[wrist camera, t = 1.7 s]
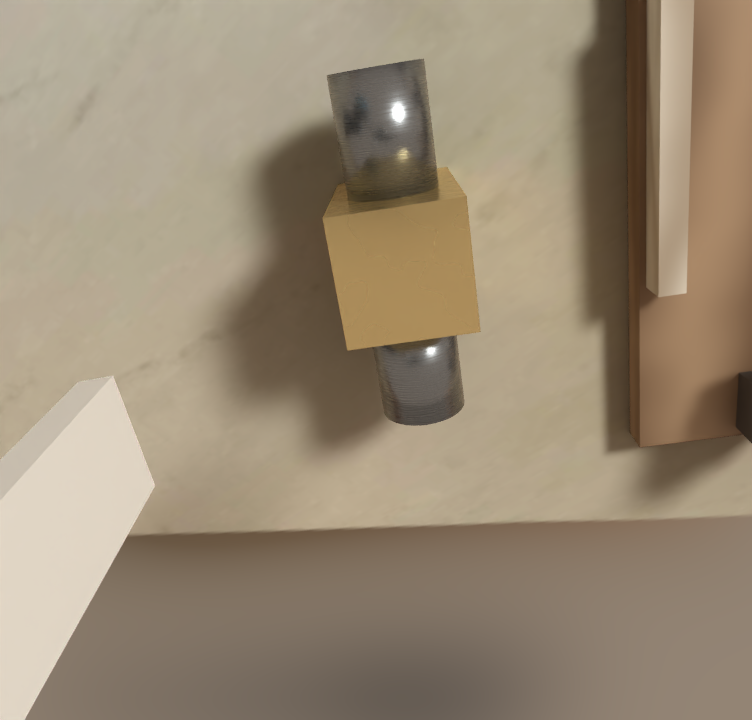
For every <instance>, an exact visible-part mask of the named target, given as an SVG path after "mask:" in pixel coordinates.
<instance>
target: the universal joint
mask: <svg viewBox="0 0 752 720" xmlns="http://www.w3.org/2000/svg"><path fill="white" fill-rule="evenodd" d="M327 80H328V86H329V92H330V98H331V104H332V110H333V115H334V121H335V127H336V133H337V139H338V145H339V150H340V156H341V162H342V168H343V174H344V180H345V183H343V184H338V186H337V188H336V190H335V192H334V194H333V197H332V199H331V201H330V203H329V205H328V207H327V210H326V212H325V214H324V216H323V218H322V219H323V224H324V229H325V235H326V240H327V245H328V251H329V256H330V261H331V267H332V272H333V277H334V282H335V288H336V293H337V298H338V304H339V309H340V314H341V320H342V325H343V330H344V336H345V341H346V346H347V351H348V350H355V349H362V348H370V347H373V349H374V355H375V361H376V367H377V372H378V378H379V384H380V390H381V396H382V402H383V407H384V413H385V415H386V417H387V418H388V419H390V420H391V421H393V422H396V423H399V424H404V425H428V424H433V423H437V422H441V421H444V420H446V419H448V418H451V417H452V416H454V415H456V414H457V413H458V412H459V411H460V410H461V409H462V408H463V406H464V395H463V387H462V378H461V370H460V361H459V353H458V344H457V336H456V335H462V334H469V333H476V332H480V323H479V313H478V303H477V293H476V284H475V274H474V264H473V254H472V245H471V235H470V225H469V215H468V206H467V196H466V195H465V193H464V192H463V190H462V189H461V187H460V186H459V184H458V183H457V181H456V180H455V178H454V177H453V175H452V174H451V172H450V171H449V169H448V168H447V167H444V168H437V166H436V157H435V149H434V140H433V132H432V123H431V115H430V106H429V98H428V89H427V81H426V72H425V64H424V59H419V60H412V61H405V62H399V63H393V64H387V65H381V66H375V67H369V68H364V69H358V70H353V71H347V72H342V73H336V74H331V75H327Z"/></svg>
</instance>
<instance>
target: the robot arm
mask: <svg viewBox="0 0 752 720" xmlns="http://www.w3.org/2000/svg"><path fill="white" fill-rule="evenodd" d="M154 487H155V484H154V482H153V479H152V476H151V474H150V471H149V469H148V466H147V463H146V461H145V458H144V455H143V453H142V450H141V448H140V445H139V442H138V440H137V437H136V434H135V432H134V429H133V427H132V424H131V421H130V419H129V416H128V414H127V411H126V408H125V406H124V403H123V400H122V398H121V395H120V393H119V390H118V387H117V385H116V382H115V380H114V377H113V376H108V377H102V378H96V379H91V380H85V381H79V382H77V383H76V384H75V385H74V386H73V387H72V388H71V389H70V390H69V391H68V392H67V393H66V394H65V395H64V396H63V397H62V398H61V399H60V400H59V401H58V402H57V403H56V404H55V405H54V406H53V407H52V408H51V409H50V410H49V411H48V412H47V413H46V414H45V415H44V416H43V417H42V418H41V419H40V420H39V421H38V422H37V423H36V424H35V425H34V426H33V427H32V428H31V429H30V430H29V431H28V432H27V433H26V434H25V435H24V436H23V437H22V438H21V439H20V440H19V441H18V442H17V443H16V444H15V445H14V446H13V447H12V448H11V450H10V451H9V452H8V453H7V454H6V455H5V456H4V457H3V458H2V459H1V460H0V720H25V718H26V716H27V714H28V713H29V711H30V709H31V707H32V705H33V704H34V702H35V700H36V698H37V697H38V695H39V693H40V691H41V689H42V687H43V686H44V684H45V682H46V680H47V679H48V677H49V675H50V673H51V671H52V670H53V668H54V666H55V664H56V662H57V660H58V659H59V657H60V655H61V654H62V652H63V650H64V648H65V646H66V644H67V643H68V641H69V639H70V637H71V636H72V634H73V632H74V630H75V628H76V627H77V625H78V623H79V621H80V619H81V618H82V616H83V614H84V612H85V611H86V609H87V607H88V605H89V603H90V601H91V600H92V598H93V596H94V594H95V593H96V591H97V589H98V587H99V585H100V584H101V582H102V580H103V578H104V576H105V575H106V573H107V571H108V569H109V567H110V566H111V564H112V562H113V560H114V558H115V557H116V555H117V553H118V551H119V550H120V548H121V546H122V544H123V542H124V540H125V539H126V537H127V535H128V533H129V532H130V530H131V528H132V526H133V524H134V523H135V521H136V519H137V517H138V516H139V514H140V512H141V510H142V508H143V507H144V505H145V503H146V501H147V499H148V498H149V496H150V494H151V492H152V490H153V489H154Z"/></svg>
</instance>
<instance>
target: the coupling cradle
mask: <svg viewBox="0 0 752 720" xmlns="http://www.w3.org/2000/svg"><path fill="white" fill-rule="evenodd" d="M626 57H627V165H628V273H629V382H630V434H631V435H632V436H633V438H634V439H635V441H636V442H637V444H638V445H639V447H647V446H655V445H663V444H671V443H679V442H687V441H695V440H703V439H711V438H719V437H727V436H735V435H744V436H745V437H746V438H747V439H748V440H749V441H750V442H751V443H752V0H626Z"/></svg>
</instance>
